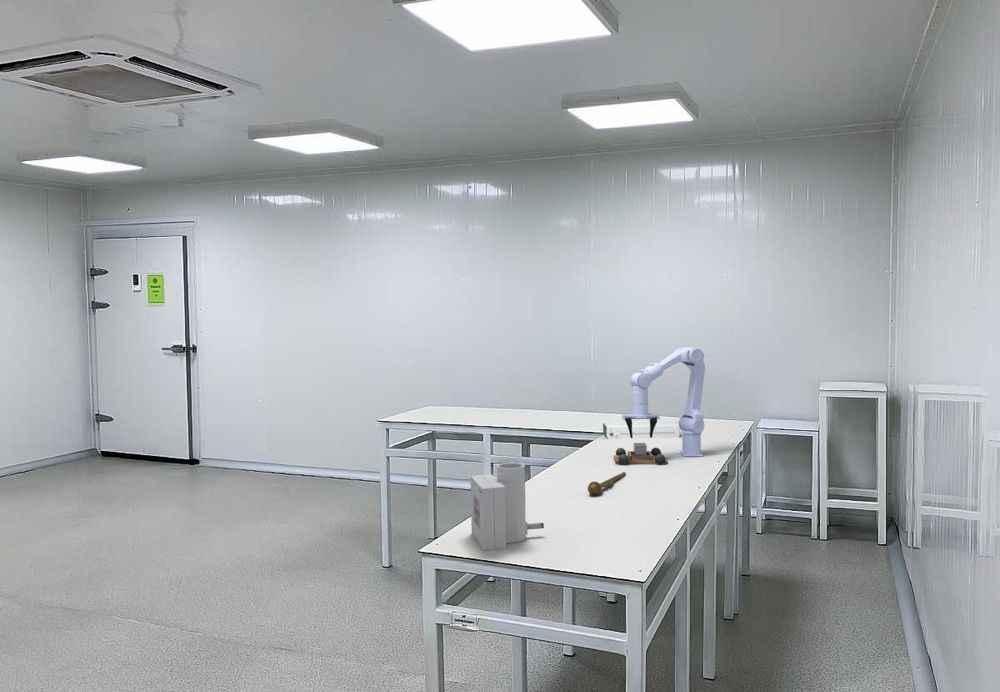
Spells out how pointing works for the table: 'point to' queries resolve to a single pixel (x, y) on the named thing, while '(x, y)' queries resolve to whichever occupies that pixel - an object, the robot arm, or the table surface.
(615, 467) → the table surface
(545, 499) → the table surface
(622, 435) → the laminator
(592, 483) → the ball-headed bronze rod
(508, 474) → the box with tube attached
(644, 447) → the block
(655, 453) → the chassis
